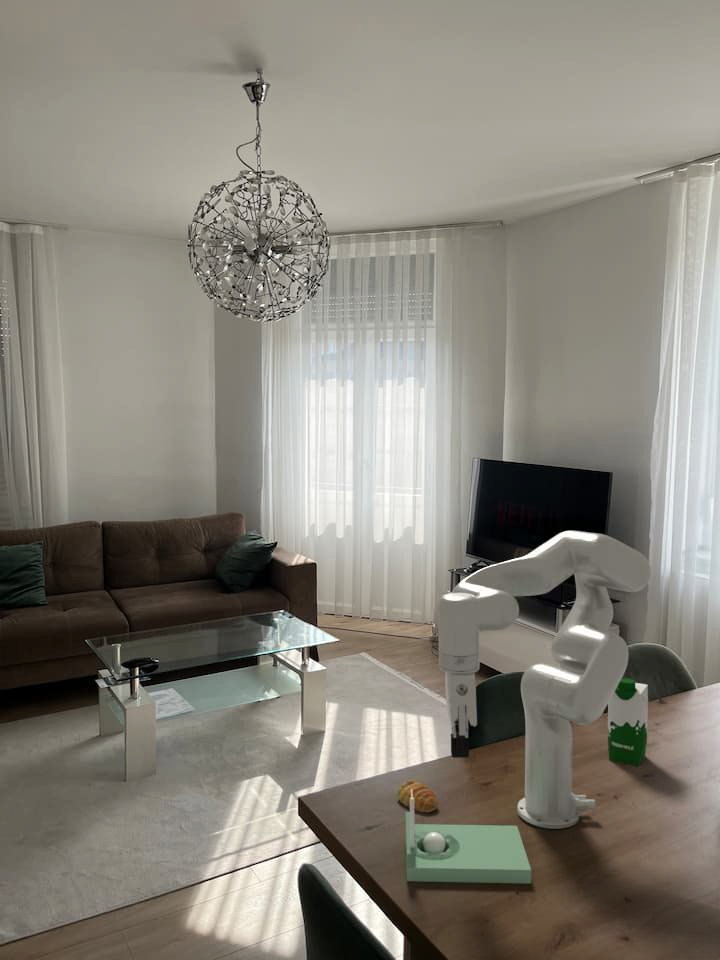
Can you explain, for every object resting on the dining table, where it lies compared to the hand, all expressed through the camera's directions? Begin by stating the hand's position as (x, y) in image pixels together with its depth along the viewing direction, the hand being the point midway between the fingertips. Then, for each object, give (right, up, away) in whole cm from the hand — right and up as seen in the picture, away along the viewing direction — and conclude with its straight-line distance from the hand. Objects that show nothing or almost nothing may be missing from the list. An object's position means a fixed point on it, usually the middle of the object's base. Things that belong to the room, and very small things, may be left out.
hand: (459, 755), depth 142 cm
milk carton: (+47, -17, +43) cm, 66 cm away
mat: (+1, -19, 0) cm, 19 cm away
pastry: (-6, -19, +22) cm, 29 cm away
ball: (-5, -17, +1) cm, 18 cm away
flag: (-9, -20, -3) cm, 22 cm away
